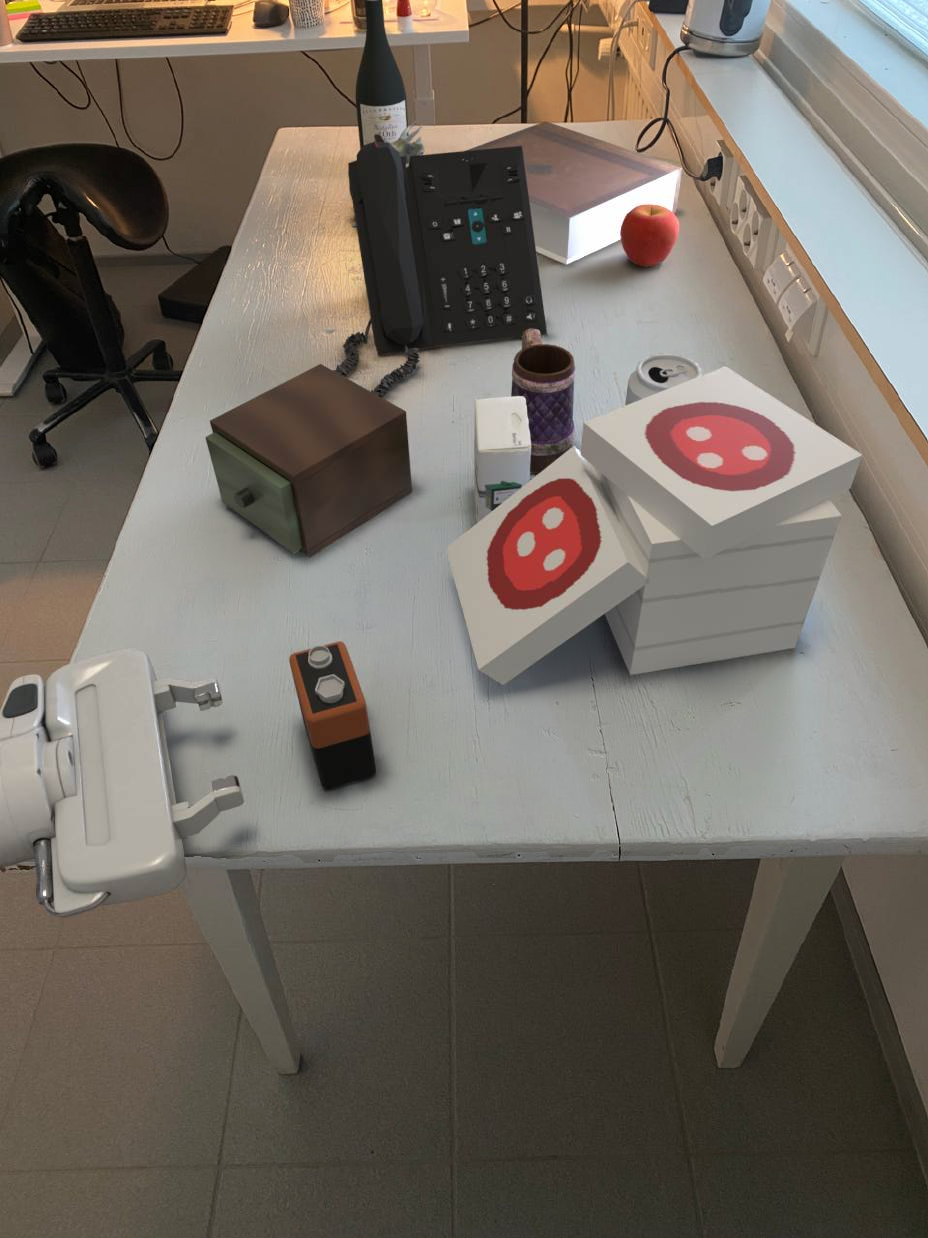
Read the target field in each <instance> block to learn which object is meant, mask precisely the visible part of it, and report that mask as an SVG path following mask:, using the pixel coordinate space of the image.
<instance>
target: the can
mask: <svg viewBox="0 0 928 1238" xmlns="http://www.w3.org/2000/svg"><path fill="white" fill-rule="evenodd" d="M702 371H703V370H702V367H701V366H700V365H699V364H698V363H697V362H696V361H694V360H692V359H691V358H689V357H687V356H684V355H681V354H677V353H676V354H675V353H657V354H655V353H654V354H651V355H649V356H646V357H644V358H642V359H641V360H640V361H639V362H638V364H637V366H636V368H635V370H634V371H633V372H632V373H630V375H629V378H628V380H627V388H626V394H625V395H626V396H625V404H624V406H626V405H628V404H631V403H633V402H636V401H639V400H641V399H644V398H646V397H649V396H651V395H654V394H656V393H659V392H661V391H664V390H666V389H669V388H671V387H674V386H676V385H679V384H681V383H684V382H687V381H689V380H692V379H694V378H697V377H699V376H702V375H703V372H702Z"/></svg>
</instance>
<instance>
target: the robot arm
mask: <svg viewBox="0 0 928 1238" xmlns="http://www.w3.org/2000/svg"><path fill="white" fill-rule="evenodd" d="M177 703H184V704H185V703H186V704H194V705H195V704H196V705H198V708H199V711H200V712H203V711H207V710H210V709H211V708H217V707H220V706H222V705H223V698H222V692H221V687H220V685H219V682H218V679H217V678H215V677H210V678H207V679H202V680H199V681H194V682H193V681H190V680H184V679H180V678H174V677H170V676H169V677H168V676H167V677H164V678H163V677H162V678H159V679H158V678H157V674H156V671H155V669H154V666H153V663H152V661H151V660H150V657H149V655H148V653H147V652H146V651H142V650H140V649H136V648H130V647H129V648H122V649H121V648H120V649H117V650H113V651H109V652H105V653H100V654H96V655H93V656H90V657H87V658H83V659H80V660H77V661H73V662H70V663H68V664H65V665H63V666H61V667H59V668H58V669H56V670H55V671H53V672H52V673H51V674H50V675H49V676H48V678H47V680H46V682H45V681H44V680H43V678H42V677H41V676H40V675H39V674H34V673H32V674H27V675H22V676H20V677H17V678H15V679H14V680H13V681H12V683H10V686H9V687H8V690H7V693H6V695H5V698H4V700H3V703H2V705H1V707H0V869H3V868H7V867H11V866H14V865H18V864H20V863H24V862H28V861H31V860H34V865H35V866H34V867H35V872H36V884H35V897H36V900H37V903H38V904H39V905H41V906H43V908H44V909H45V910H46V911H47V912H48V914H50V915H52V916H55V917H57V918H63V919H65V918H71V917H75V916H78V915H82V914H85V913H87V912H91V911H93V910H96V909H97V908H99V907H101V906H102V907H103V906H110V905H118V904H125V903H130V902H134V901H139V900H144V899H145V900H146V899H149V898H153V897H156V896H162V895H165V894H169V893H171V892H173V891H175V890H176V889H177V888H178V887H179V886H180V885H181V884H182V883H183V881H184V880H185V879H186V878H187V876H188V869H187V862H186V857H185V850H184V843H183V839H185V838H187V837H190V836H191V837H192V836H194V835H198V834H200V832H202V831H203V830H204V829H205V828H206V827H207V826H208V825H209V824H210V823H211V822H212V821H214V820H215V819H216V818H217V817H218V816H219V815H220V814H221V812H224V811H228V810H231V809H234V808H237V807H240V806H242V805H243V804H244V803H245V799H244V793H243V790H242V786H241V782H240V779H239V777H238V776H237V775H232V774H231V775H228V776H226V777H225V778H218V779H215V780H211V785H212V790H211V791H210V792H208V793H207V794H206V795H204V796H203V797H202V798H200V799H199V800H198V801H196V802H194V804H193V805H190V802H189V801H186V800H185V801H182V802H179V803H177V799H176V792H175V786H174V779H173V773H172V767H171V760H170V755H169V748H168V741H167V735H166V728H165V723H164V716H163V712H165V711H166V712H167V711H169V710H173V709H176V707H177ZM52 903H53V905H52Z"/></svg>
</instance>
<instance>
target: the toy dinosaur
mask: <svg viewBox="0 0 928 1238" xmlns="http://www.w3.org/2000/svg"><path fill="white" fill-rule="evenodd" d="M414 125H416V120H414V121H413V122H412V123H411V124H410V125H408V127H407V128H406V129H405V130H404V131H403V132H402V134H401V136H400V138H399V139H398V140H397V141H395V142H392V143H390V142H388V141H386V140H385V139H384V138H383V137H382V135H380V134H378V133H377V134H375V133H374V135H375V136H374V138H375V141H376V142H387V143H390V144H391V145H392V146H393V147H394V148H395V149H396V150H397V151H398V152H399V153H400V156H402V157H405V163H406V164H408V163H409V161H410V156H417V155H425V146H424V145H423V143H422V137H421V136H419V137H418V138H417V139H416V140H415V141H413V142H411V141H412V140H413V139H414V138H415V136H417V135H418V134H419V133H420V131H422V128H423V124H420V125H419V127H418V128H417V129H416V130H414V131H412V132H411V133H410V134H409V135H408V136H407V138H406V135H407V133H409V132H410V131H411V130H412V128H413V126H414ZM405 138H406V139H405ZM348 185H349V187H348V188H349V195H350V198H351V199H352V195H351V189H350V183H349V182H348ZM353 221H355V217H354V218H353ZM350 227H351V228H354V229H357V227H356V222H355V223H353V224H352V225H351V226H350Z"/></svg>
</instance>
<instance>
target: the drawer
mask: <svg viewBox="0 0 928 1238" xmlns="http://www.w3.org/2000/svg"><path fill="white" fill-rule="evenodd" d="M204 438H205V442H206V446H207V449H208V453H209V456H210V461H211V465H212V468H213V472H214V476H215V480H216V483H217V486H218V490H219V491H218V492H219V494H220V498H221V501H222V502H223V503H224V504H225V505H227V507H229V508H230V509H232V510H233V511H235V512H236V513H238V515H240V516H241V517H243V518H244V519H245V520H246V521H248V522H249V523H251V524H252V525H254V526H255V527H256V528H258V529H259V530H261V531H262V532H263V533H264V534H266V535H267V536H269V537H270V538H272V539H273V540H274V541H276V542H277V543H279V544H280V545H281V546H282V547H284V548H285V549H287V550H288V551H290V553H292V554H296V553H297V552H300V551H299V550H300V549H302V548H303V544H302V539H301V534H300V529H299V524H298V518H297V513H296V508H295V503H294V498H293V493H292V488H291V483H290V482H289V480H288V479H286V478H285V477H283V476H282V475H280V474H279V473H277V472H276V471H274V470H273V469H271V468H270V467H268V466H267V465H265V464H264V463H262V462H261V461H260V460H258V459H257V458H255V457H254V456H252V455H251V454H249V453H248V452H246V451H245V450H243V449H242V448H240V447H239V446H237V445H236V446H235V445H234V444H232V443H231V442H229V441H228V440H226V439H225V438H223V437H222V436H220V435H219V434H217V433H216V432H214V433H213V432H212V433H210V434H208V435H207V436H205V437H204Z"/></svg>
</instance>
